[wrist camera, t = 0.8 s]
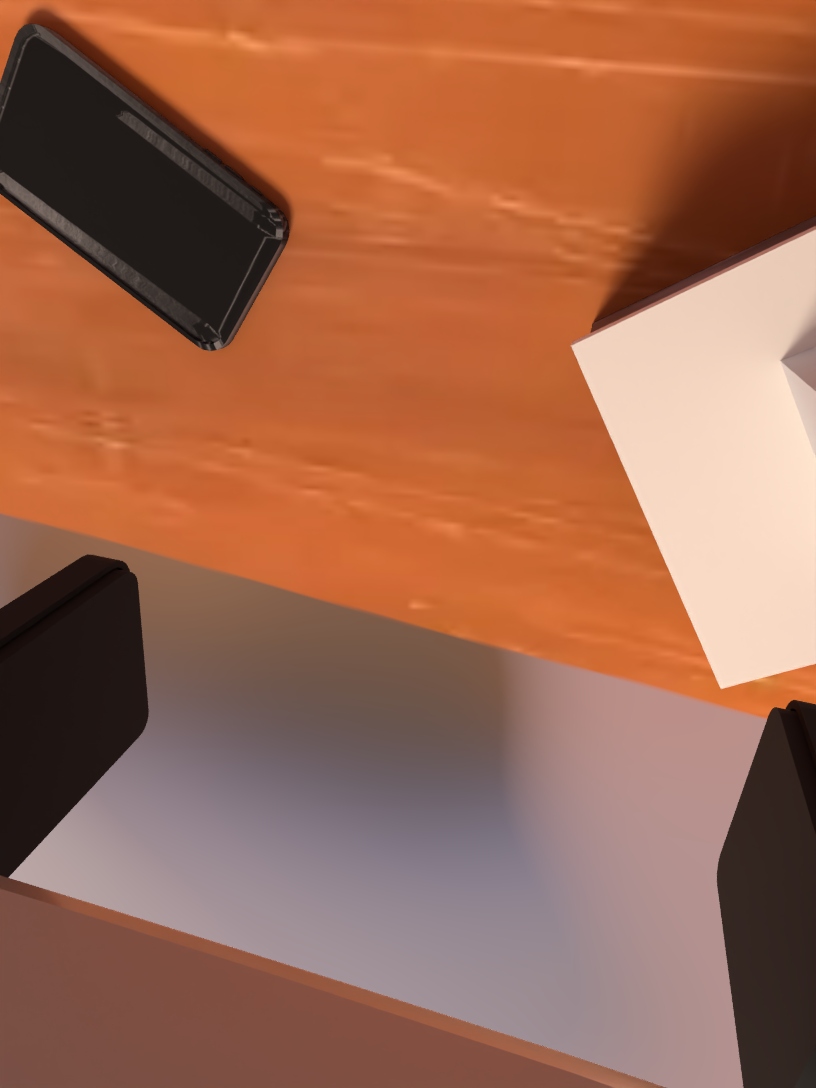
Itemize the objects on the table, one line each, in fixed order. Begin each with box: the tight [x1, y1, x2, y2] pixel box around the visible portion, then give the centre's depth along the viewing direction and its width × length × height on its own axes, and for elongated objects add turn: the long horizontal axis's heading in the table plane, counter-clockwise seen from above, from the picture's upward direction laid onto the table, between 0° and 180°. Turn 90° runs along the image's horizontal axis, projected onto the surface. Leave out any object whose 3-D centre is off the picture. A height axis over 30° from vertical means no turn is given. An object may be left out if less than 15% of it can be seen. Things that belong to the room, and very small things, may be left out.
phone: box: [0, 24, 289, 351], centre depth 36 cm, size 8×1×15 cm
